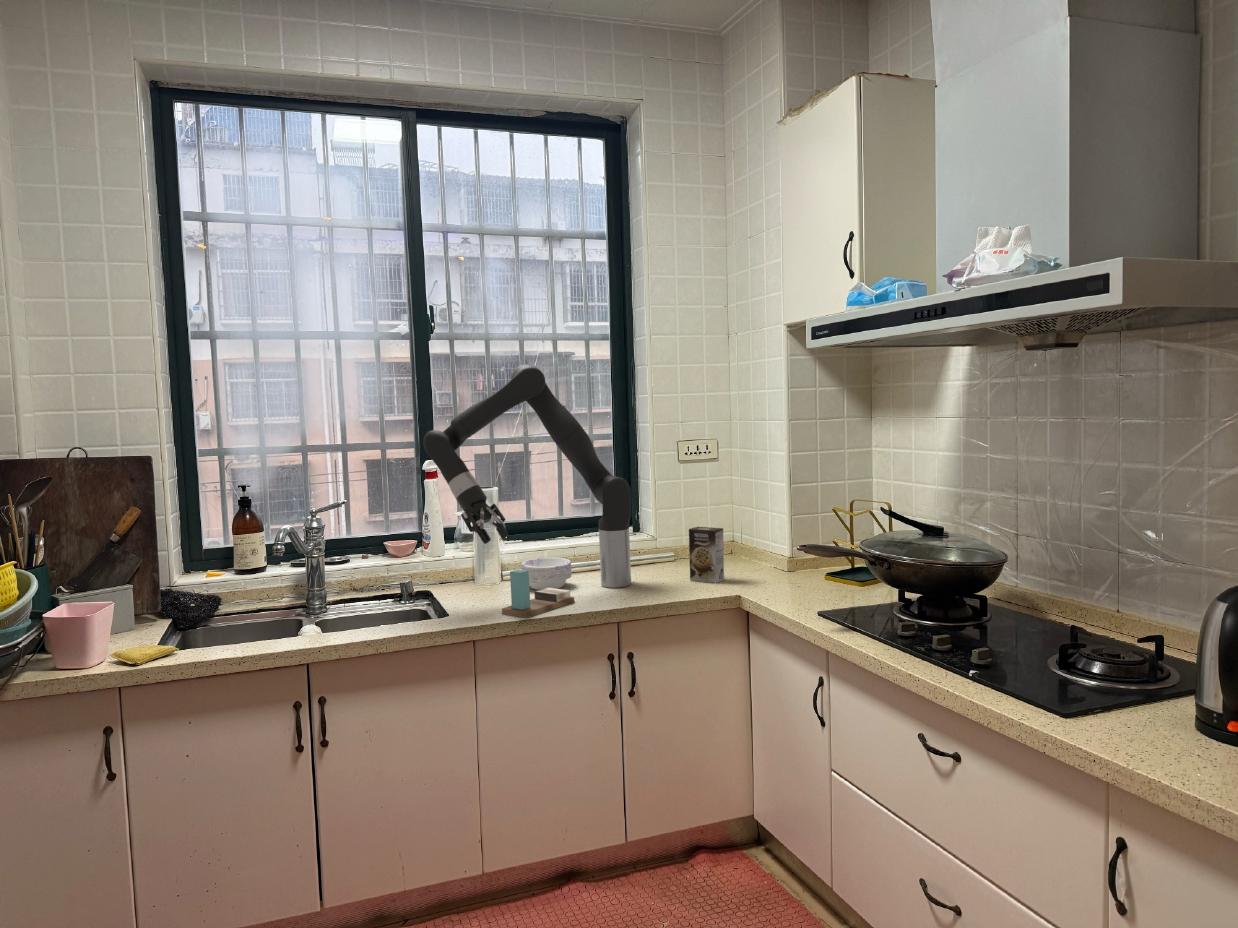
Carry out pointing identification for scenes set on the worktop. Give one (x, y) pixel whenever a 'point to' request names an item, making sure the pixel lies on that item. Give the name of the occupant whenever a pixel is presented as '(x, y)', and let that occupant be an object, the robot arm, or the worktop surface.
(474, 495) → the robot arm
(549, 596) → the stand
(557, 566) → the white and purple bowl
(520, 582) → the teal rectangular block
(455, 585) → the worktop surface
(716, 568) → the coffee box
